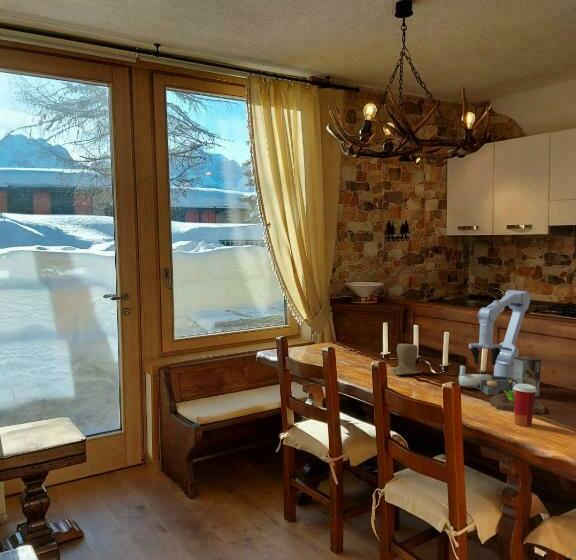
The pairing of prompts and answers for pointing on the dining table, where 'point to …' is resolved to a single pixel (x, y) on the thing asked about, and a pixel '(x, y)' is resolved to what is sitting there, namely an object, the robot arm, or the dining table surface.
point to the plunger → (492, 384)
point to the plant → (512, 402)
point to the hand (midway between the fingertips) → (484, 364)
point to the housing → (501, 386)
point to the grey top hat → (406, 360)
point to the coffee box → (527, 372)
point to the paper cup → (524, 404)
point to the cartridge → (471, 378)
